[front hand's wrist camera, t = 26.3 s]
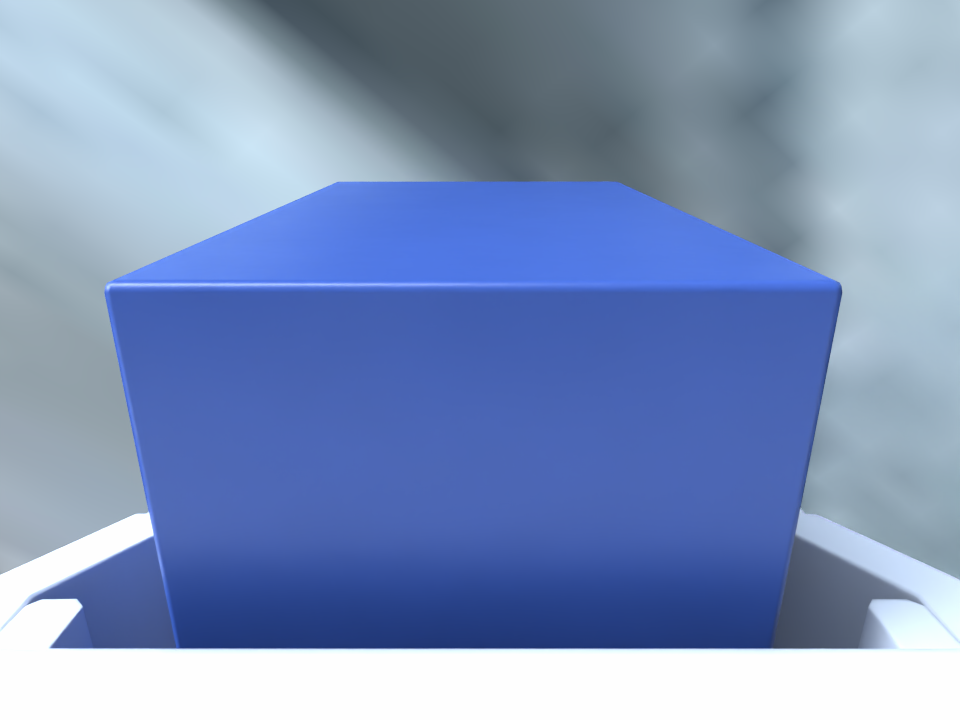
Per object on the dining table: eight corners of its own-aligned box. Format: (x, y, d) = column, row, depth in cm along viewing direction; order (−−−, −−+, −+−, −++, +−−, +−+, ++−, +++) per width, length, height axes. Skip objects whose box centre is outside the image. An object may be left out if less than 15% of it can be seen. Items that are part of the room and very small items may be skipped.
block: (361, 551, 15) (242, 989, 8) (334, 181, 12) (96, 281, 5) (594, 551, 15) (709, 990, 8) (620, 181, 12) (848, 282, 5)
